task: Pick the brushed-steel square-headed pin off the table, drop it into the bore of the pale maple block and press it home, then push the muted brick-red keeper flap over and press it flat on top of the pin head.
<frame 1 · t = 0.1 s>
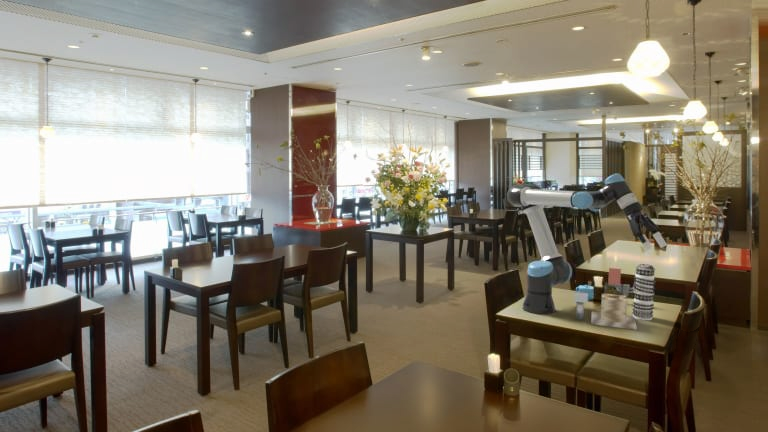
hand: (657, 247, 212), 36 cm above the table, tool tilted 35°, fingers open, 13 cm apart
mechanical component: (625, 304, 257), on the table
black and white tower: (642, 317, 233), on the table
steel pin: (579, 319, 229), on the table
keeper flap: (614, 277, 231), point 19 cm above the table, hinge at 97.0°
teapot: (587, 299, 265), on the table
hitch block: (612, 321, 226), on the table
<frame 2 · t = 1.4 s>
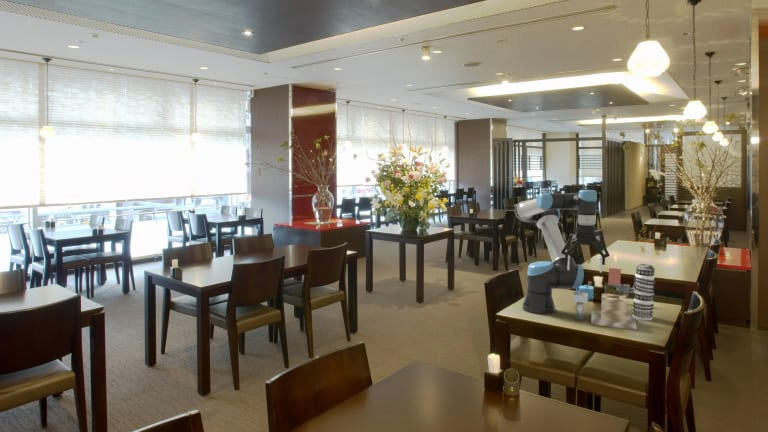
hand: (584, 270, 226), 23 cm above the table, tool pointing down, fingers open, 13 cm apart
nothing on the table moved.
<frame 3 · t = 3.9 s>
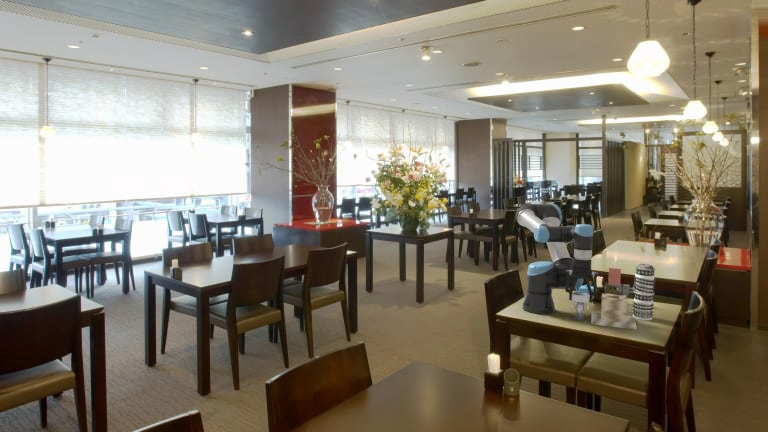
hand: (580, 308, 228), 5 cm above the table, tool pointing down, fingers closed on steel pin, 6 cm apart
steel pin: (579, 319, 229), on the table, touching gripper
everything else where it was.
when the fingers open (13 cm above the table, at t = 8.2 s): steel pin drops 5 cm, resting on hitch block.
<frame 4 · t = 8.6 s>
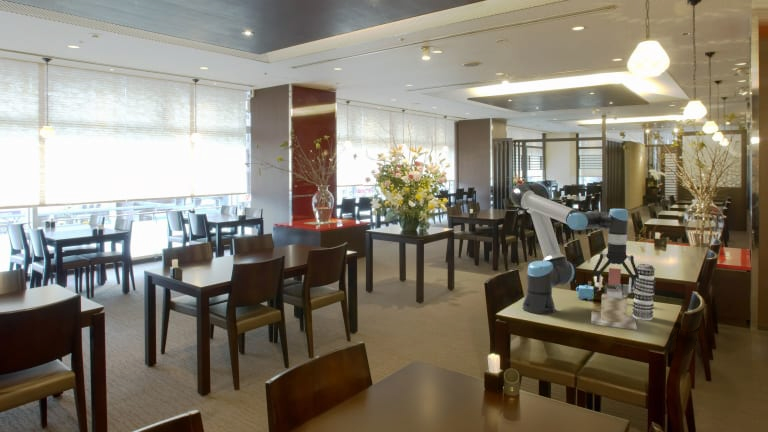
hand: (614, 291, 225), 14 cm above the table, tool pointing down, fingers open, 11 cm apart
steel pin: (613, 316, 226), point 2 cm above the table, touching hitch block
everything else where it was.
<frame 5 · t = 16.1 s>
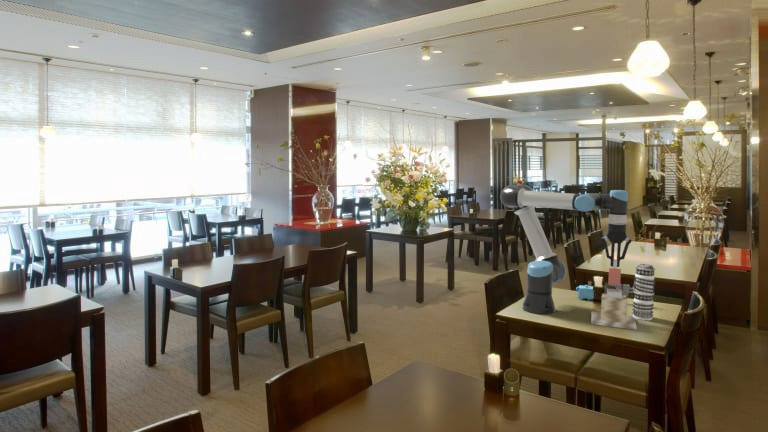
hand: (614, 273, 233), 20 cm above the table, tool pointing down, fingers closed
keeper flap: (614, 277, 231), point 19 cm above the table, hinge at 96.9°, touching gripper
everything else where it was.
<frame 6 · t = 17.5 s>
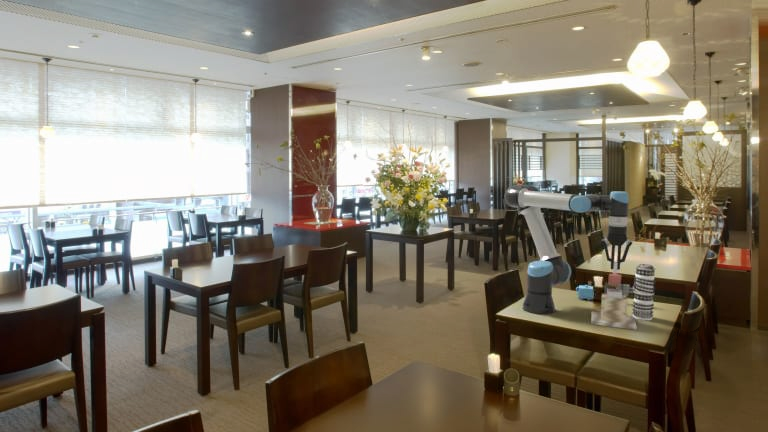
hand: (614, 276, 229), 20 cm above the table, tool pointing down, fingers closed
keeper flap: (614, 280, 228), point 18 cm above the table, hinge at 48.6°, touching gripper
everything else where it was.
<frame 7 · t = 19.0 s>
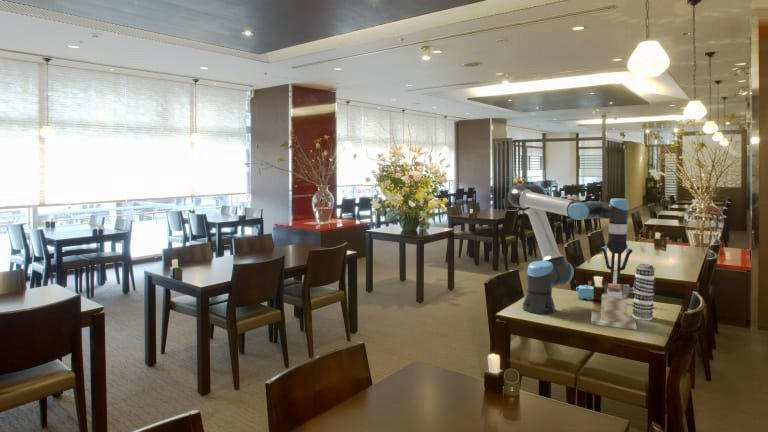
hand: (614, 284, 226), 17 cm above the table, tool pointing down, fingers closed
keeper flap: (614, 286, 227), point 16 cm above the table, hinge at 4.1°
everything else where it was.
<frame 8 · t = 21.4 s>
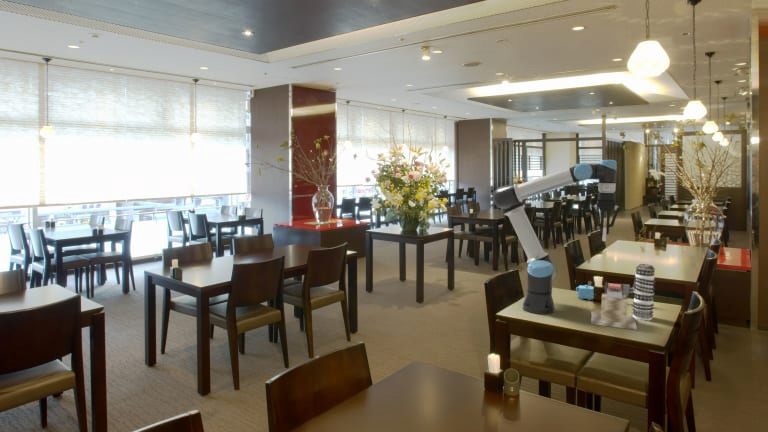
hand: (604, 240, 241), 34 cm above the table, tool pointing down, fingers closed
nothing on the table moved.
at the end: steel pin 0.1 cm off-centre on the hitch block, point 2.5 cm above the hitch block's base; keeper flap at +4° (first picture: +97°); the gripper is holding nothing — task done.
